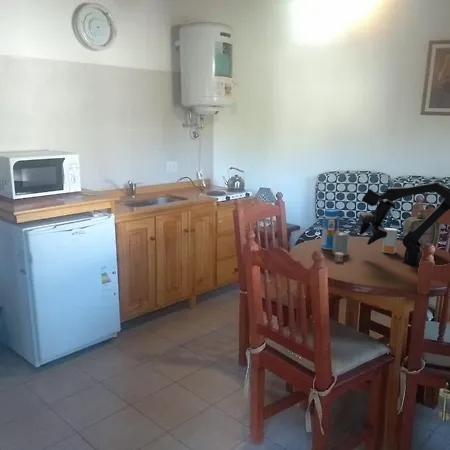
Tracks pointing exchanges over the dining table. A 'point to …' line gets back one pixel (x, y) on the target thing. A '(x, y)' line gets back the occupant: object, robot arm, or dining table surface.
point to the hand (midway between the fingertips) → (364, 239)
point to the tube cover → (340, 243)
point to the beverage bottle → (329, 228)
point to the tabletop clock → (414, 222)
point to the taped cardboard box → (338, 257)
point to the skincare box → (390, 241)
